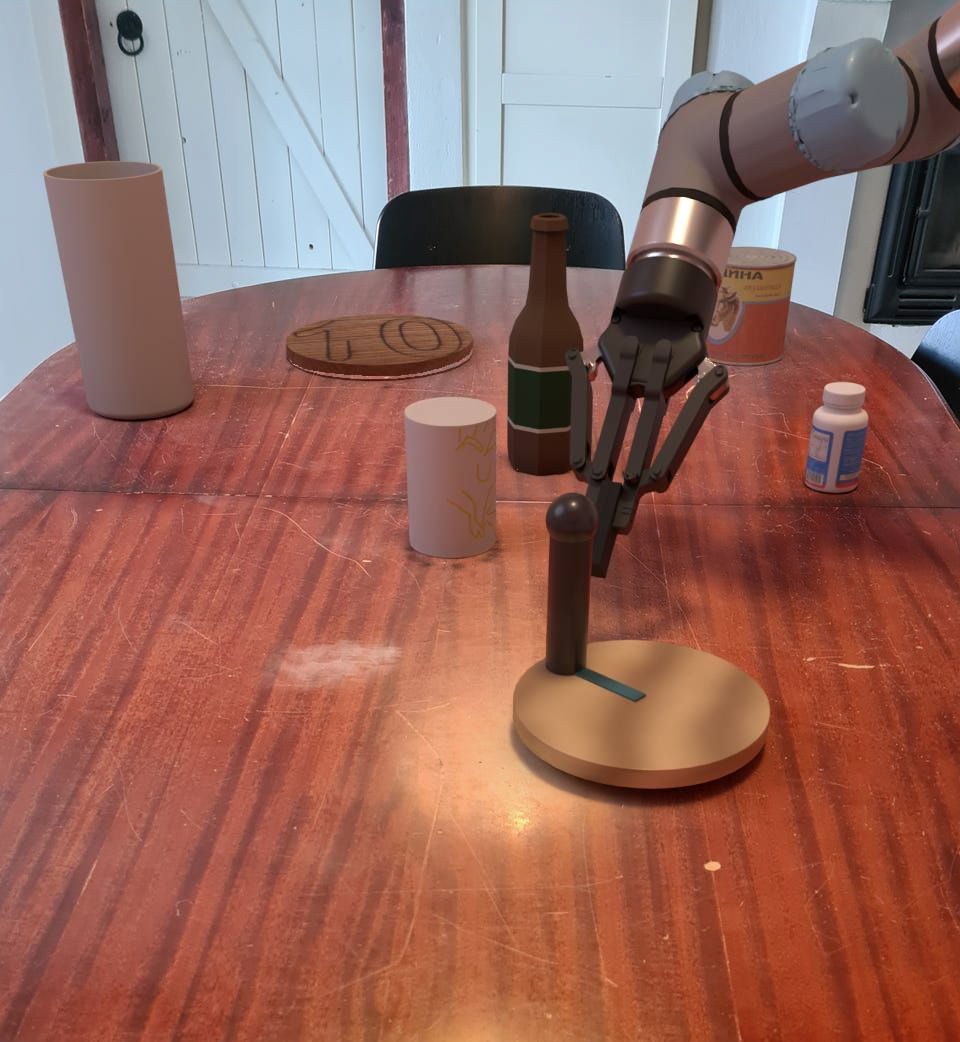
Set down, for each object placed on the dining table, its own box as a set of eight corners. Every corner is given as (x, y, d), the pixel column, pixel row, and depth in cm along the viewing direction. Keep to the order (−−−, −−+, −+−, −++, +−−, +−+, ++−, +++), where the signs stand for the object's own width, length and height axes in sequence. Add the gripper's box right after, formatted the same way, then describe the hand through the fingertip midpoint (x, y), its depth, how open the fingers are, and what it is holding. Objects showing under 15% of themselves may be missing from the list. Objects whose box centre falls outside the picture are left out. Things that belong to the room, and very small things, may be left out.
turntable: (775, 672, 93) (805, 484, 84) (757, 805, 79) (791, 597, 70) (541, 645, 96) (547, 462, 88) (485, 768, 83) (485, 565, 74)
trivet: (298, 386, 154) (297, 371, 153) (277, 334, 173) (275, 320, 172) (492, 372, 158) (492, 357, 157) (450, 323, 178) (450, 309, 177)
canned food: (680, 353, 165) (688, 255, 158) (733, 337, 171) (744, 242, 164) (747, 371, 159) (759, 270, 151) (800, 354, 165) (814, 256, 157)
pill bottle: (856, 477, 129) (874, 381, 123) (857, 496, 124) (875, 397, 118) (803, 473, 130) (818, 377, 124) (802, 492, 125) (817, 394, 119)
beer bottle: (582, 453, 135) (594, 208, 120) (574, 478, 129) (585, 224, 114) (512, 449, 136) (515, 206, 121) (501, 474, 130) (502, 221, 115)
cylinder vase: (171, 383, 155) (137, 157, 140) (211, 409, 147) (179, 172, 132) (74, 400, 150) (28, 167, 135) (110, 429, 142) (65, 184, 126)
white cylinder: (468, 564, 112) (467, 431, 104) (392, 547, 115) (386, 417, 108) (511, 533, 117) (512, 405, 110) (437, 517, 120) (434, 391, 113)
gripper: (758, 317, 96) (683, 602, 94) (598, 302, 100) (522, 575, 98) (753, 258, 89) (671, 564, 87) (581, 243, 93) (499, 537, 91)
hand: (592, 570), depth 92 cm, fingers closed
